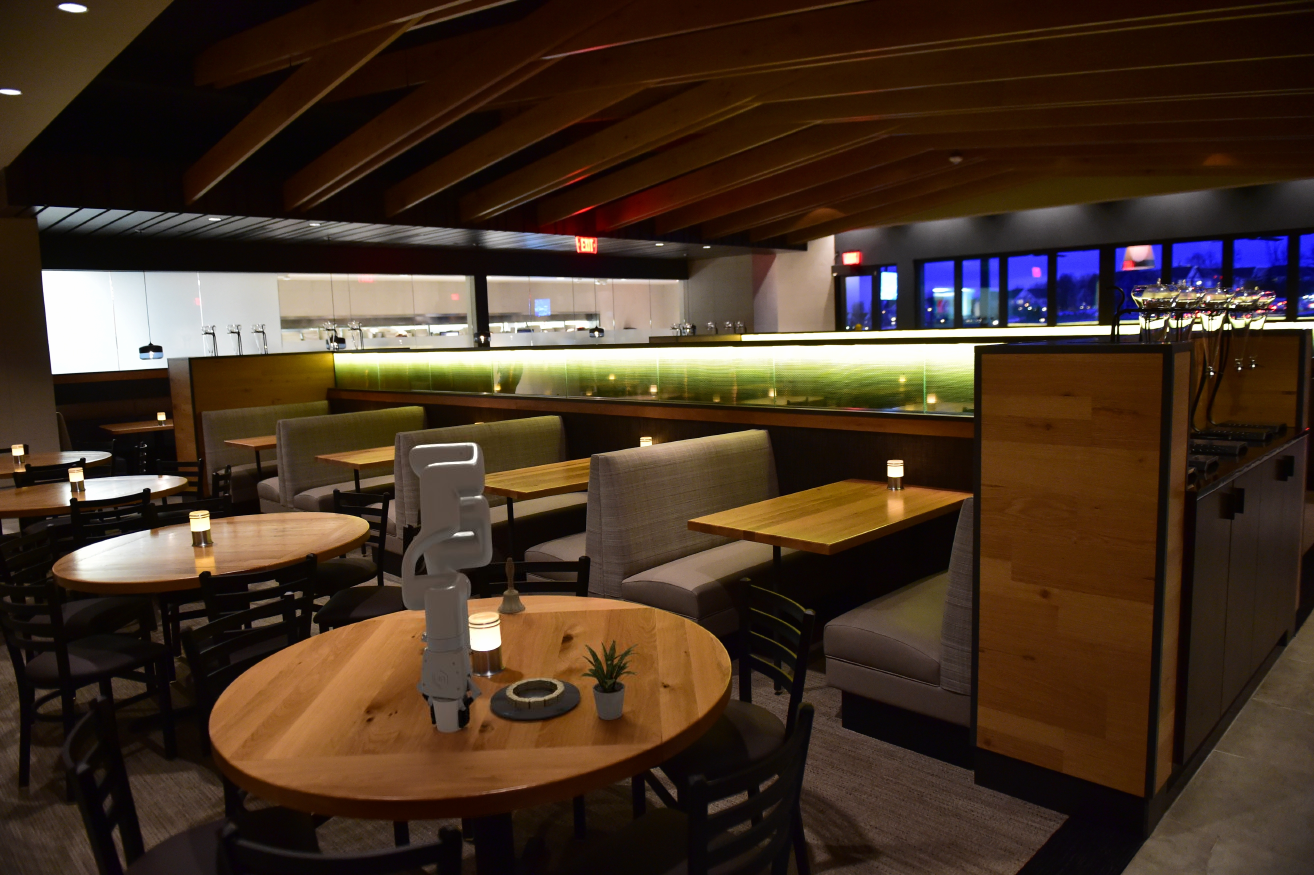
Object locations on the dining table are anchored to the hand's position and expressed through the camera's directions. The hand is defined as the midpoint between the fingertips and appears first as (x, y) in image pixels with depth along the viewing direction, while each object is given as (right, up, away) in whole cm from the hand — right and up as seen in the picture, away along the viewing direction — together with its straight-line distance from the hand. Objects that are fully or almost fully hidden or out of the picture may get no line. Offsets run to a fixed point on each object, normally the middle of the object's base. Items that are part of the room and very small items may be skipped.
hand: (450, 722), depth 179 cm
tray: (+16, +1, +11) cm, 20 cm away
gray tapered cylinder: (0, -1, 0) cm, 1 cm away
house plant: (+35, 0, +2) cm, 35 cm away
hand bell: (0, +8, +78) cm, 78 cm away
